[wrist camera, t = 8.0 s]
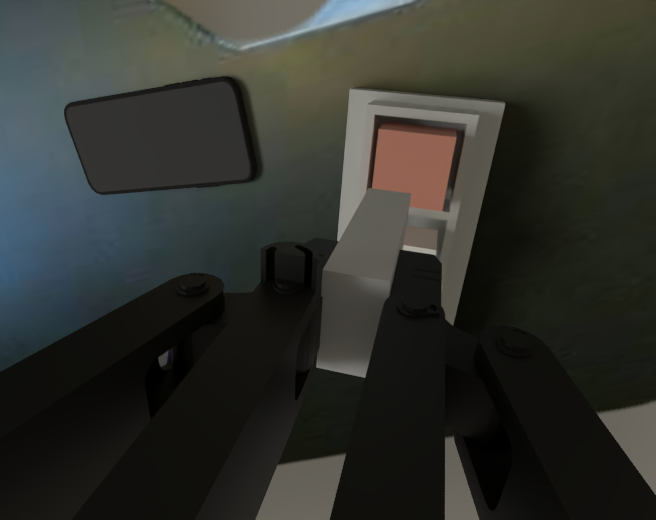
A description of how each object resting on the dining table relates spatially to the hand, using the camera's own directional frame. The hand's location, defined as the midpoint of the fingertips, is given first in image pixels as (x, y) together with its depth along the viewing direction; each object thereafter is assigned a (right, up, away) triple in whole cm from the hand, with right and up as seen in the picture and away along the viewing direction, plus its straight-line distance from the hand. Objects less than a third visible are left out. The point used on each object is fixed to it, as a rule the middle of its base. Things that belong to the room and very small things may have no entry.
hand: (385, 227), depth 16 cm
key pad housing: (+3, +1, +15) cm, 15 cm away
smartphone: (-15, +8, +17) cm, 24 cm away
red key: (+3, +5, +10) cm, 12 cm away
